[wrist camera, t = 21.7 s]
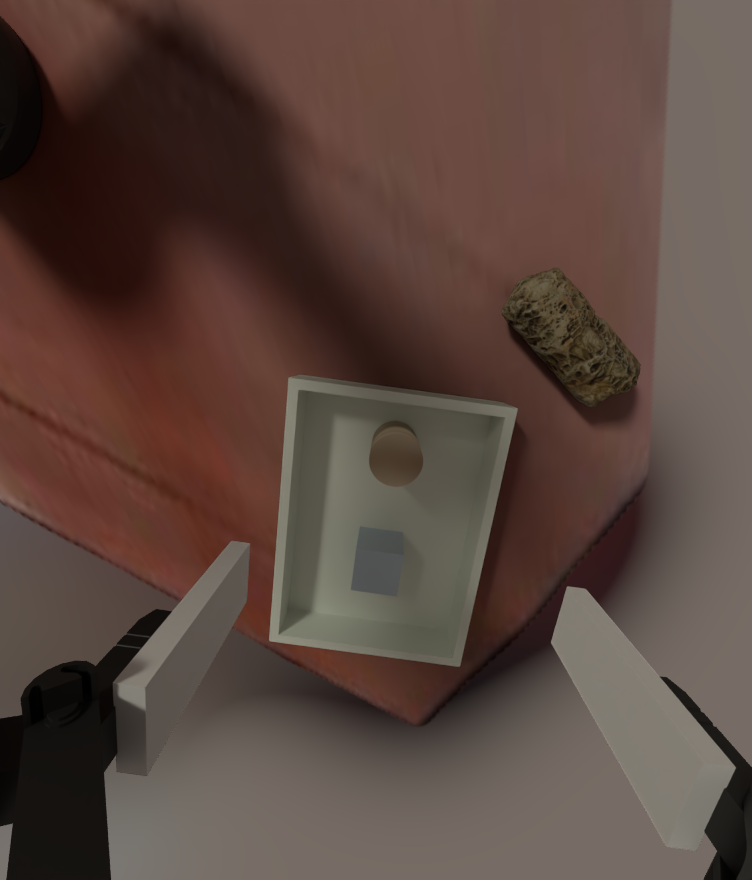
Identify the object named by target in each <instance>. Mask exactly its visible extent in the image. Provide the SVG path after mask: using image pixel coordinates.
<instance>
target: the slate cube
mask: <svg viewBox="0 0 752 880" xmlns="http://www.w3.org/2000/svg"><path fill="white" fill-rule="evenodd" d="M403 557H404V551H403V538H402V532H397V531H390V530H382V529H375V528H368V527H361V526H360V529H359V535H358V541H357V547H356V554H355V562H354V569H353V576H352V584H351V590H353V591H360V592H368V593H375V594H382V595H389V596H396V597H397V592H398V586H399V581H400V575H401V569H402V563H403Z"/></svg>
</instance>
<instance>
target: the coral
mask: <svg viewBox="0 0 752 880" xmlns="http://www.w3.org/2000/svg"><path fill="white" fill-rule="evenodd" d="M501 312H502V315H503V316H504V318H505V319H506V321H507V322H509V323H510V324H511V326H513V328H514V329H515V331H517V332H518V333H519V334H520V336H521V337H522V338H523V339H524V340H526V342H527V343H528V344H529V346H530V347H531V348H532V349H533V351H534V352H535V353H536V354H537V355H538V356H539V357H540V358H541V359H542V360H543V361H544V362H545V363H546V364H547V366H548V367H549V369H551V370H552V371H553V373H554V374H555V375H556V376H557V378H558V379H559V380H560V381H561V382H562V383H563V385H564V386H565V387H566V388H567V390H568V391H569V392H570V393H571V394H572V395H573V396H574V397H575V398H576V399H577V400H578V401H580V402H581V403H583V404H585V405H586V406H589V407H595V406H597V405H599V404H600V403H601V402H602V401H603V400H605V399H607V398H608V397H610V396H611V395H614V394H620V393H624V392H628V391H629V390H630V389H631V387H633V386H635V385H636V384H637V380H638V376H639V374H640V366H641V365H640V363H639V362H638V360H637V359H636V357H635V356H634V355H633V354H632V353H631V352H630V351H629V350H628V348H627V347H626V346H625V344H624V343H623V342H622V340H621V339H620V338H619V337H618V336H617V334H616V333H615V332H614V330H613V329H612V328H611V327H610V326H609V325H608V323H607V322H606V321H605V320H604V319H602V318H600V317H598V316H596V315H595V311H594V309H592V307H591V305H590V304H589V302H588V301H587V299H586V298H585V296H584V295H583V294H582V293H581V292H580V291H579V290H578V289H577V288H576V286H575V285H574V284H573V283H572V282H571V280H569V279H568V278H566V277H565V275H564V273H563V272H562V271H561V270H560V269H559V268H553V269H551V270H549V271H545V272H540V273H538V274H536V275H529V276H527V277H525V278H524V279H521V280H519V281H518V282H517V284H516V285H515V287H514V290H513V292H512V293H511V294H510V297H509V298H508V301H507V302H506V303H505V304H504V307H503V309H502V311H501Z"/></svg>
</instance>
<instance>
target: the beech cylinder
mask: <svg viewBox="0 0 752 880" xmlns="http://www.w3.org/2000/svg"><path fill="white" fill-rule="evenodd" d="M369 466H370V469H371V472H372V474H373V475H374V477H375V478H376V479H377V480H378V481H380V482H381V483H383V484H385V485H388V486H392V487H400V486H404V485H407V484H409V483H411V482H412V481H414V480H415V479H416V478H417V477H418V475H419V474H420V472H421V470H422V467H423V454H422V451H421V448H420V446H419V443H418V440H417V437H416V434H415V432H414V431H413V429H412V428H411V427H410V426H409V425H407V424H405V423H403V422H400V421H389V422H386V423H384V424H382V425H381V426H380V427H379V428H378V429H377V430H376V431H375V433H374V435H373V439H372V444H371V450H370V456H369Z"/></svg>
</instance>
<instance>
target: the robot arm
mask: <svg viewBox="0 0 752 880" xmlns="http://www.w3.org/2000/svg"><path fill="white" fill-rule="evenodd" d="M40 124H41V95H40V89H39V84H38V80H37V76H36V73H35V70H34V67H33V64H32V62H31V59H30V57H29V55H28V53H27V51H26V49H25V47H24V46H23V44H22V42H21V41H20V39H19V38H18V36H17V35H16V34H15V32H14V31H13V30H12V28H11V27H10V26H9V25H8V24H7V23H6V22H5V20H4V19H3V18H1V17H0V179H1V178H4V177H6V176H8V175H10V174H11V173H13V172H14V171H16V170H17V169H18V168H19V167H20V166H21V165H22V164H23V163H24V162H25V161H26V159H27V158H28V157H29V155H30V153H31V152H32V150H33V148H34V145H35V143H36V140H37V137H38V134H39V130H40ZM249 551H250V543H243V542H236V541H231V542H230V543H229V544H228V546H227V547H226V548H225V549H224V550H223V552H222V553H221V554H220V555H219V556H218V558H217V559H216V560H215V561H214V562H213V563H212V565H211V566H210V567H209V568H208V569H207V571H206V572H205V573H204V574H203V575H202V577H201V578H200V579H199V580H198V581H197V583H196V584H195V585H194V586H193V587H192V589H191V590H190V591H189V592H188V593H187V595H186V596H185V597H184V598H183V599H182V601H181V602H180V603H179V604H178V605H177V607H176V608H175V609H174V610H173V611H166V610H158V609H156V610H154V611H152V612H151V613H149V614H148V615H146V616H145V617H143V618H141V619H139V620H138V621H137V623H136V624H135V625H134V626H133V627H132V628H131V629H130V630H129V631H128V632H127V635H125V636H123V637H122V639H121V640H120V641H119V642H118V643H117V645H116V646H115V647H113V648H112V649H111V650H110V651H109V652H108V653H107V655H106V656H105V657H104V658H103V659H102V660H101V661H100V662H99V663H98V664H97V665H96V666H94V665H93V664H91V663H89V662H87V661H72V662H68V663H63V664H60V665H58V666H55V667H53V668H51V669H48V670H46V671H45V672H44V673H42V674H41V675H39V676H38V677H36V678H35V679H34V680H33V681H32V682H31V683H30V684H29V685H28V686H27V687H26V688H25V690H24V692H23V694H22V697H21V706H22V715H20V716H14V717H7V718H1V719H0V826H3V825H8V824H12V823H13V828H12V836H11V845H10V854H9V862H8V870H7V879H6V880H111V872H110V858H109V843H108V827H107V813H106V798H105V783H104V772H105V770H106V769H107V767H108V766H109V764H110V763H111V761H112V760H113V759H114V757H115V756H116V768H117V772H121V773H128V774H136V775H143V776H147V775H148V773H149V772H150V770H151V768H152V766H153V765H154V763H155V761H156V759H157V758H158V756H159V754H160V752H161V751H162V749H163V747H164V745H165V744H166V741H167V740H168V738H169V737H170V735H171V733H172V731H173V729H174V728H175V726H176V724H177V723H178V721H179V719H180V717H181V715H182V714H183V712H184V710H185V709H186V707H187V705H188V703H189V702H190V700H191V698H192V696H193V695H194V693H195V691H196V689H197V688H198V686H199V684H200V682H201V680H202V679H203V677H204V675H205V673H206V672H207V670H208V668H209V666H210V665H211V663H212V661H213V659H214V657H215V656H216V654H217V652H218V651H219V649H220V647H221V645H222V644H223V642H224V640H225V638H226V637H227V635H228V633H229V631H230V630H231V628H232V626H233V624H234V623H235V621H236V619H237V617H238V616H239V614H240V612H241V610H242V609H243V607H244V605H245V603H246V602H247V587H248V569H249ZM551 644H552V645H553V647H554V649H555V651H556V652H557V654H558V656H559V658H560V659H561V661H562V663H563V665H564V667H565V668H566V670H567V672H568V674H569V675H570V677H571V678H572V681H573V683H574V684H575V686H576V688H577V690H578V691H579V693H580V695H581V697H582V699H583V700H584V702H585V704H586V706H587V707H588V709H589V711H590V712H591V714H592V716H593V718H594V720H595V722H596V723H597V725H598V727H599V729H600V730H601V732H602V734H603V736H604V737H605V739H606V741H607V743H608V745H609V746H610V748H611V750H612V752H613V753H614V755H615V757H616V759H617V760H618V762H619V764H620V766H621V768H622V769H623V771H624V773H625V774H626V776H627V778H628V780H629V782H630V783H631V785H632V787H633V789H634V791H635V792H636V794H637V796H638V798H639V799H640V801H641V803H642V805H643V807H644V808H645V810H646V812H647V814H648V815H649V817H650V819H651V821H652V822H653V824H654V826H655V828H656V830H657V831H658V833H659V835H660V836H661V838H662V840H663V842H664V844H665V845H666V847H673V848H679V849H687V850H694V851H696V850H697V849H698V847H699V844H700V842H701V840H702V838H703V836H704V834H705V833H706V835H707V836H708V838H709V839H710V841H711V842H712V843H713V845H714V847H715V848H716V850H717V853H716V855H715V857H714V859H713V861H712V863H711V865H710V867H709V869H708V871H707V873H706V875H705V877H704V880H752V767H751V766H750V765H749V764H748V763H747V762H746V760H745V759H744V758H743V757H742V756H741V755H740V754H739V753H738V751H737V750H736V749H735V748H734V747H733V746H732V745H731V743H730V742H729V741H728V740H727V739H726V738H725V737H724V736H723V734H722V733H721V732H720V731H719V730H718V729H717V727H714V726H713V723H712V722H711V721H710V720H709V718H708V717H707V716H706V715H705V714H704V713H702V712H701V711H700V708H699V707H698V706H697V705H696V704H695V702H693V700H692V699H691V698H690V697H689V696H688V695H687V694H686V692H684V691H683V690H682V689H681V688H679V687H678V686H677V685H676V684H674V683H673V682H672V681H671V680H669V679H668V678H667V677H660V676H659V675H658V674H657V673H656V672H655V671H654V670H653V668H652V667H651V666H650V665H649V664H648V662H647V661H646V660H645V659H644V658H643V657H642V655H641V654H640V653H639V652H638V651H637V650H636V648H635V647H634V646H633V645H632V643H631V642H630V641H629V640H628V639H627V637H625V635H624V634H623V633H622V631H621V630H620V629H619V628H618V627H617V626H616V624H615V623H614V622H613V621H612V620H611V618H610V617H609V616H608V615H607V614H606V613H605V611H604V610H603V609H602V608H601V607H600V605H599V604H598V603H597V602H596V601H595V599H594V598H593V597H592V596H591V595H590V593H589V592H588V591H587V590H586V589H582V588H574V587H567V589H566V593H565V596H564V599H563V603H562V606H561V610H560V613H559V616H558V620H557V623H556V627H555V630H554V634H553V637H552V641H551Z"/></svg>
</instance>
